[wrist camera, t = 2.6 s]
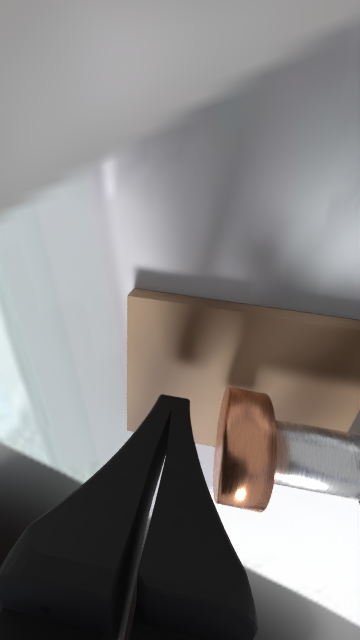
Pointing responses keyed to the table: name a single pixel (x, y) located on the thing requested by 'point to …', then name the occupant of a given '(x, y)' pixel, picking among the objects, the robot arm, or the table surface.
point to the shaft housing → (240, 360)
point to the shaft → (278, 454)
